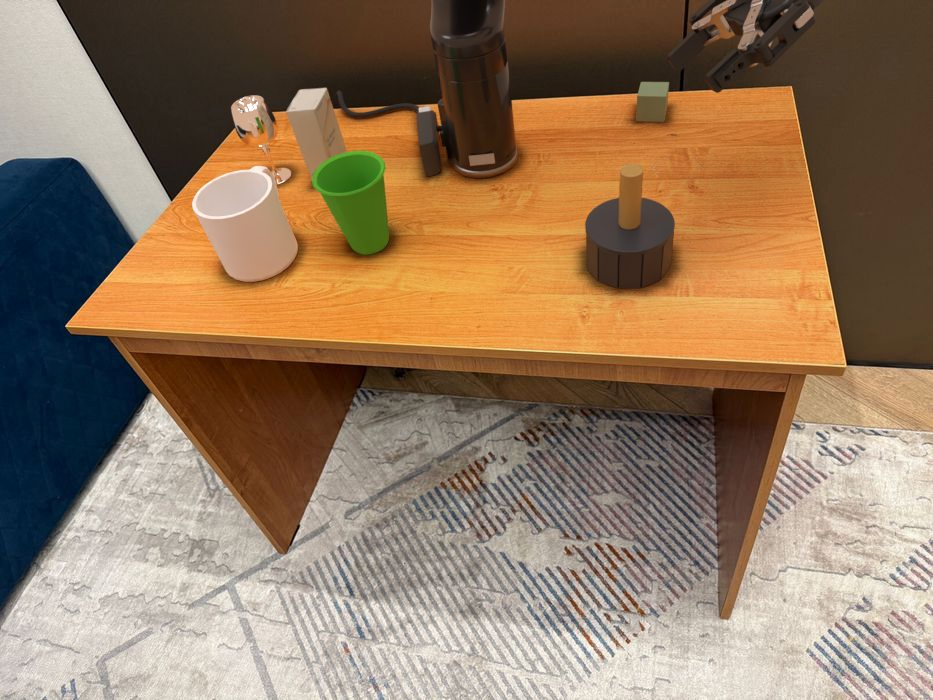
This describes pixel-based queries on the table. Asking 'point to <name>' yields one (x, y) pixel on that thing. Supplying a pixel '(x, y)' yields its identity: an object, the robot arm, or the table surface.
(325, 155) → the cosmetic box
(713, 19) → the robot arm
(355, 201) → the cup
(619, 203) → the gray cylinder with peg
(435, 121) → the usb drive
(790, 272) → the table surface
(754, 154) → the table surface
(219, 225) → the mug
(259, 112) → the wineglass
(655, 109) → the block
